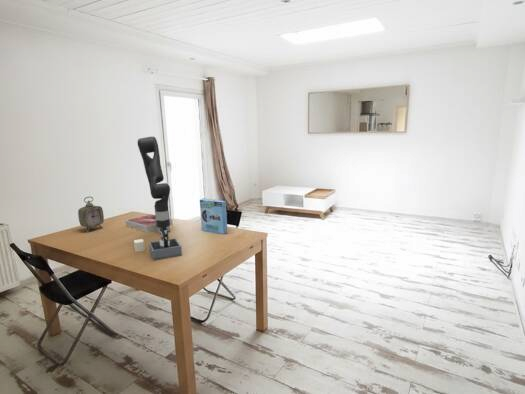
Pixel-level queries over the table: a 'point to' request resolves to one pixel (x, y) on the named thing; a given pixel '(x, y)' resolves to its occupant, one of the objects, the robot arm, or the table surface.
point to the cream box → (139, 245)
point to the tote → (165, 250)
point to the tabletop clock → (90, 215)
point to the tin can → (163, 244)
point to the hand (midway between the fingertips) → (164, 244)
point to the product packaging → (144, 223)
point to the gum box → (213, 215)
